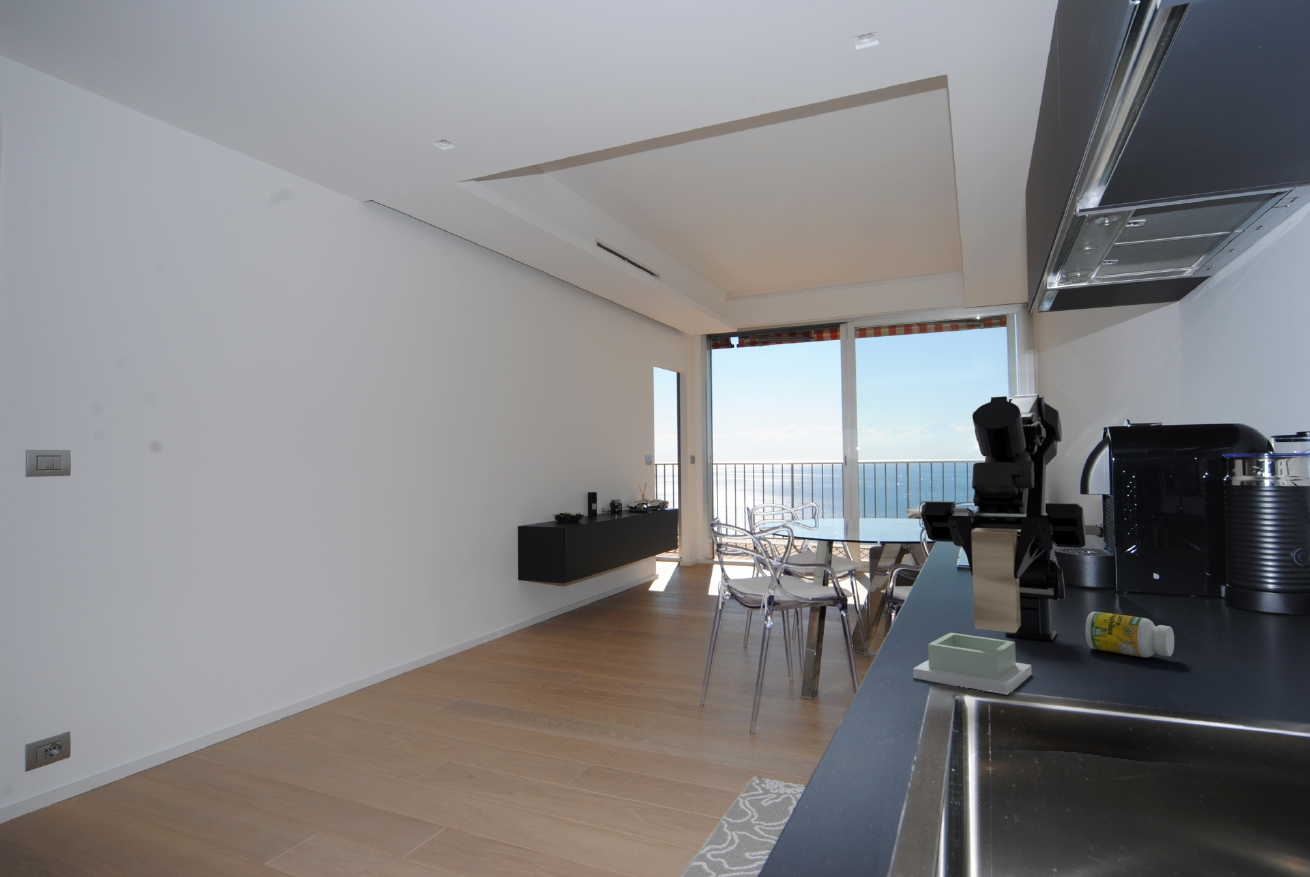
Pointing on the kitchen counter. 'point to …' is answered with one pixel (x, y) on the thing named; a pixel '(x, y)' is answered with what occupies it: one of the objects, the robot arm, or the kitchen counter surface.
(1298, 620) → the kitchen counter surface
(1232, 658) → the kitchen counter surface
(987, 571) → the brown box
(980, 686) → the caddy
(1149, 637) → the supplement bottle
